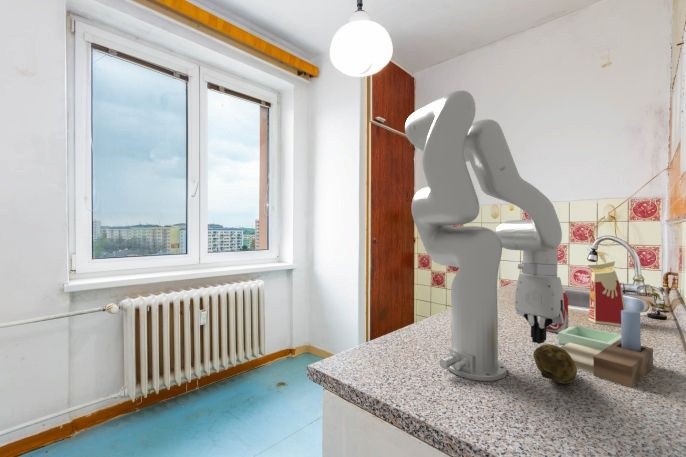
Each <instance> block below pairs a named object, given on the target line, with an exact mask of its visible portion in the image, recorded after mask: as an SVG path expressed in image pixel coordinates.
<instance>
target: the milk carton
mask: <svg viewBox="0 0 686 457" xmlns="http://www.w3.org/2000/svg"><path fill="white" fill-rule="evenodd" d="M615 263H616V261H615V260H614V261H610V262H605V263H599V264H588V265H587V267H589V269H590V270H591V277H590V285H589V312H588V320H589V321H590V322H592V323H594V324H599V325H600V324H601V325H609V326H614V327H615V326H616V327H621V310H626V305H625V304H626V303H625V298H624V293H623V288H622V286H621V283H620V280H619V278H618V275H617V272H616V268H615Z"/></svg>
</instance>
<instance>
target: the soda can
mask: <svg viewBox="0 0 686 457" xmlns="http://www.w3.org/2000/svg"><path fill="white" fill-rule="evenodd" d="M563 297H564V314H563V320H564V322H563V323H561V324H551V325H549V326H548V327H547V329H546V332H551V333H556V334H558V332H560V331H562V330H565V329H567V328H569V300H568V299H569V298H568V296H567V294H566V291H565V290H563Z"/></svg>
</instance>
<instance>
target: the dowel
mask: <svg viewBox="0 0 686 457" xmlns="http://www.w3.org/2000/svg"><path fill="white" fill-rule="evenodd" d="M641 325H642V324H641V312H639V311H636V310H630V309H625V310H621V326H620V330H621V331H620V335H621V348H625V349H629V350H633V351H638V352H641V346H642V345H641V344H642V341H641V340H642V338H641V337H642V336H641V335H642V333H641V331H642V329H641Z"/></svg>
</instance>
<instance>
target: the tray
mask: <svg viewBox="0 0 686 457" xmlns="http://www.w3.org/2000/svg"><path fill="white" fill-rule="evenodd" d="M557 337H558V341H557V342H558V345H562V346H564V345H566V344H568V343H574V344H578V345H582V346H586V347H590V348H594V349H598V350H602V351H603V350H604V349H606V348H607V347H609V346H610V345H612V344H613V343H615V342H616V341H621V333H616V332H611V331H604V330H601V329H597V328H591V327H588V326H587V327H586V326H581V325H577V324H574V325H572V326H568V328H567V329H565V330H562V331H560V332H558V333H557Z"/></svg>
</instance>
